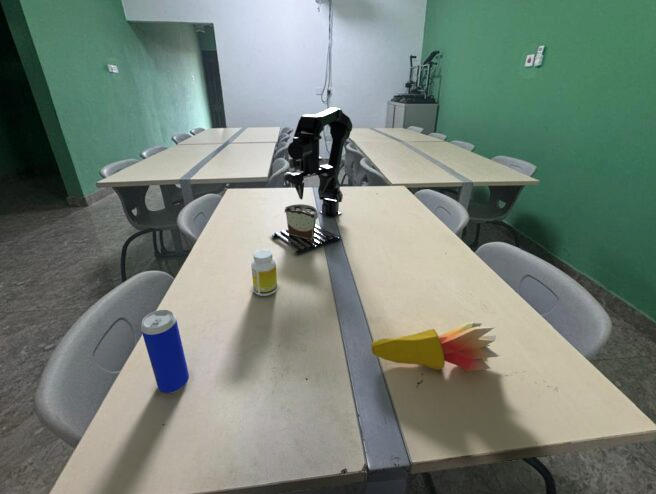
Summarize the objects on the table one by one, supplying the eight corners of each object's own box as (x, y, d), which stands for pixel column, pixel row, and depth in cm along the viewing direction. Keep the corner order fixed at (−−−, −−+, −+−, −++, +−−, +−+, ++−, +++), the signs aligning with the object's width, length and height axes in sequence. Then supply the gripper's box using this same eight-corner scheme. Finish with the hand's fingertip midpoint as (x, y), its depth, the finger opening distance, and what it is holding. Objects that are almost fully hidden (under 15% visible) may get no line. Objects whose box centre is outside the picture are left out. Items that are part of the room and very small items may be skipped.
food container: (323, 233, 113) (324, 207, 109) (315, 240, 108) (316, 213, 104) (294, 226, 117) (293, 201, 113) (285, 233, 112) (284, 207, 108)
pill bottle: (281, 285, 86) (279, 250, 82) (269, 299, 81) (267, 262, 76) (261, 281, 88) (258, 246, 83) (249, 293, 83) (245, 257, 78)
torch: (372, 368, 67) (491, 357, 66) (376, 385, 59) (511, 373, 58) (368, 329, 67) (486, 318, 67) (371, 340, 59) (505, 327, 59)
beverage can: (165, 371, 60) (148, 308, 54) (193, 370, 61) (179, 307, 54) (153, 396, 55) (133, 330, 49) (183, 394, 56) (167, 329, 50)
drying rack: (312, 224, 123) (312, 221, 123) (339, 240, 112) (339, 236, 112) (272, 237, 112) (272, 233, 112) (297, 255, 101) (297, 251, 101)
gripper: (318, 146, 120) (318, 186, 126) (275, 153, 109) (277, 195, 115) (337, 152, 112) (336, 193, 119) (293, 159, 101) (294, 204, 108)
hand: (311, 196), depth 115 cm, fingers open, 9 cm apart
